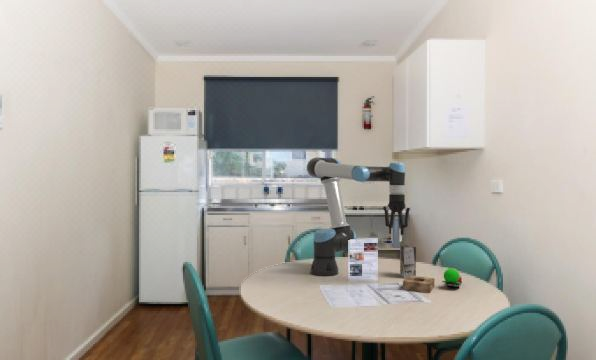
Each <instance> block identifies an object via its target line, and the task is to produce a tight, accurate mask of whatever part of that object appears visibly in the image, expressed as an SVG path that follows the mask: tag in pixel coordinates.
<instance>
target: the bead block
mask: <svg viewBox="0 0 596 360" xmlns="http://www.w3.org/2000/svg"><path fill="white" fill-rule="evenodd" d="M434 288H435V278H434V277H427V276H425V277H424V276H417V275H416V276H408V277H407V278H404V280H402V290H403V291H409V292H410V291H412V292H418V293H427V294H430V293H431V292H432V291H433V289H434Z"/></svg>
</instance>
